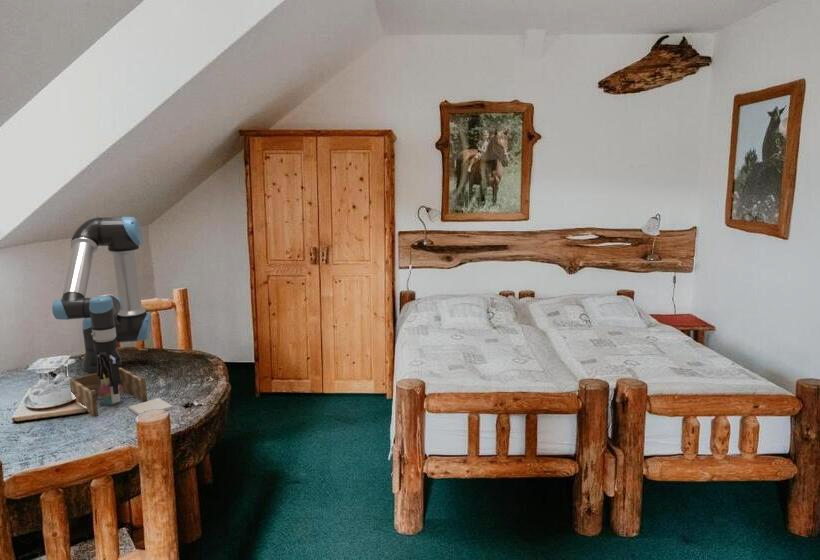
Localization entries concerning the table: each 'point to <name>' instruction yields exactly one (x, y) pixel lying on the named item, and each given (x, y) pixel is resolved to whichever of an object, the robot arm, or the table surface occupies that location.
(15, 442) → the table surface
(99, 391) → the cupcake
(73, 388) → the brown open-sided frame
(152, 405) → the plate
